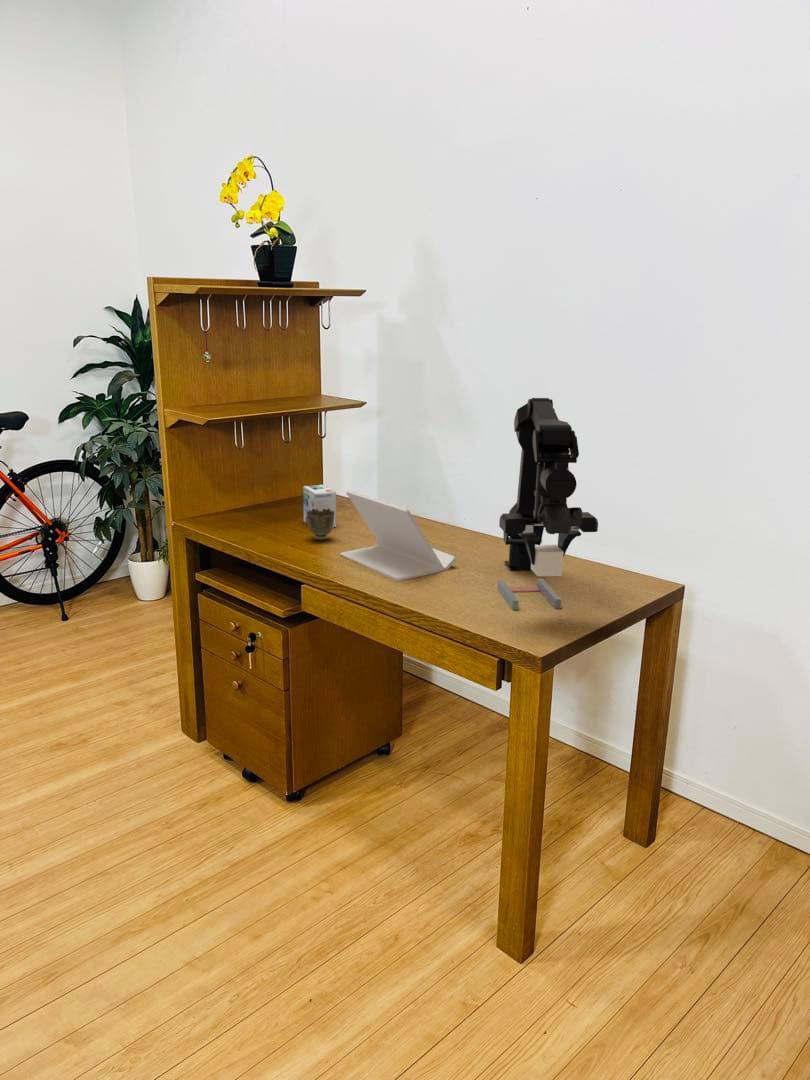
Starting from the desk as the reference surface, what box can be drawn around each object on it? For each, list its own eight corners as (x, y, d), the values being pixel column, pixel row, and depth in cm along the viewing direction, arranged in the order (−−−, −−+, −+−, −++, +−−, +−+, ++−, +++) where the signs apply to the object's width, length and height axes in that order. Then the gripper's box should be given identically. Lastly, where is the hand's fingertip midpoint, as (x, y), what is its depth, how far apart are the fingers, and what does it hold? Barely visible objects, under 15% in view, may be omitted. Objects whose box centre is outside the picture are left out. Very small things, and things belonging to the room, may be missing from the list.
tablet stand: (397, 582, 189) (398, 510, 185) (338, 556, 208) (338, 490, 204) (457, 568, 200) (459, 500, 195) (395, 544, 219) (396, 482, 214)
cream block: (530, 568, 167) (532, 545, 166) (554, 568, 168) (556, 544, 166) (537, 576, 162) (538, 552, 161) (561, 575, 163) (563, 551, 162)
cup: (335, 536, 226) (335, 507, 223) (334, 543, 219) (333, 514, 216) (308, 536, 225) (307, 507, 223) (306, 543, 218) (305, 514, 216)
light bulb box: (302, 521, 241) (302, 485, 238) (324, 519, 243) (324, 484, 240) (314, 530, 231) (314, 493, 228) (337, 528, 234) (336, 491, 231)
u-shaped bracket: (497, 588, 185) (497, 579, 185) (542, 586, 187) (542, 578, 186) (512, 609, 172) (512, 601, 172) (560, 608, 173) (561, 599, 173)
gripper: (514, 498, 152) (510, 577, 156) (611, 496, 154) (604, 575, 159) (500, 485, 163) (497, 560, 167) (591, 484, 165) (585, 558, 169)
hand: (545, 563), depth 165 cm, fingers closed on cream block, 5 cm apart
